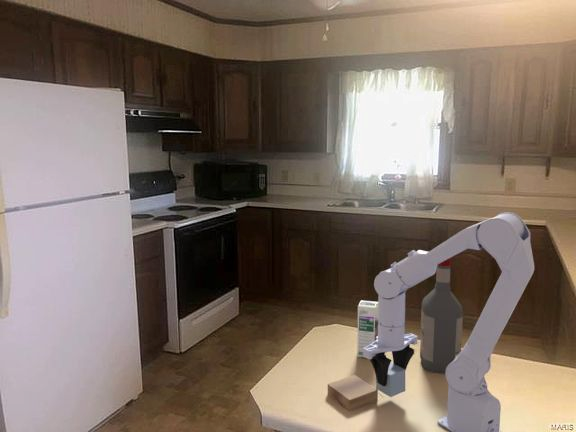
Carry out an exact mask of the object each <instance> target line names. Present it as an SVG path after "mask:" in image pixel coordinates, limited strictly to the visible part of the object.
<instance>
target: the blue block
mask: <svg viewBox="0 0 576 432" xmlns="http://www.w3.org/2000/svg"><path fill="white" fill-rule="evenodd" d="M375 388H376V389H377V390H378V392H381V393H383V394H385V395H386V396H388V397H389V398H392V397H394V396H397V395H400V394H402V393H404V392H406V371H405V369H403V368H401V367H399V366H397V365H395V364H393V362H391V363H390V365H389V369H388V376H387V384H386V386H382V385H380V384H379V383H378V382H377V377H376V376H375Z"/></svg>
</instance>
